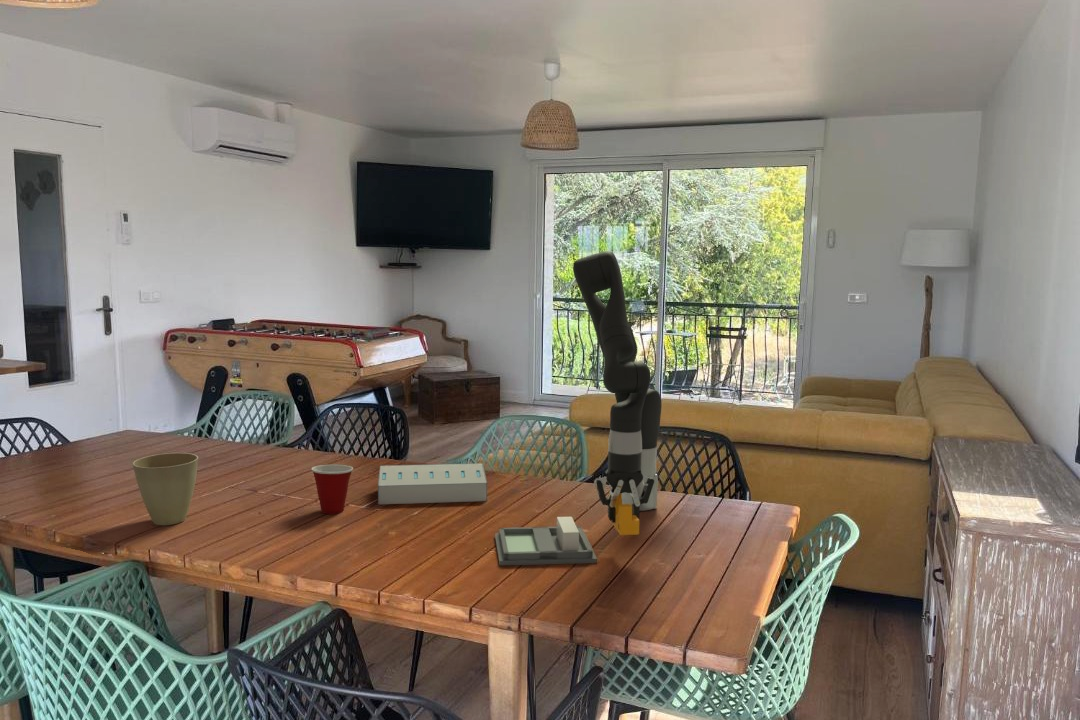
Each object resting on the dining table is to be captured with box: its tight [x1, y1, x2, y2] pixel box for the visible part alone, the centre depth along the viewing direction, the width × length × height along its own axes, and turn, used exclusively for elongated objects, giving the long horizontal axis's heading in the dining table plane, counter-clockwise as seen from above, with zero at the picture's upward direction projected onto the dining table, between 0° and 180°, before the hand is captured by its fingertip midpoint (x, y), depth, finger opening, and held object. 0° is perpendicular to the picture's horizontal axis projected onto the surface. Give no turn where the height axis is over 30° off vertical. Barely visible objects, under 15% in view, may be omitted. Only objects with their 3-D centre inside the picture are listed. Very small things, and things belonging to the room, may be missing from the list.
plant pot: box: [132, 452, 199, 526], centre depth 198 cm, size 15×15×16 cm
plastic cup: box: [311, 464, 354, 515], centre depth 209 cm, size 11×11×12 cm
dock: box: [494, 516, 598, 566], centre depth 184 cm, size 22×18×6 cm
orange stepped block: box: [608, 490, 640, 536], centre depth 180 cm, size 12×4×6 cm, turn 7°
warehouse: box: [377, 462, 488, 505], centre depth 225 cm, size 30×14×8 cm, turn 99°
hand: (623, 520), depth 181 cm, fingers closed on orange stepped block, 4 cm apart
